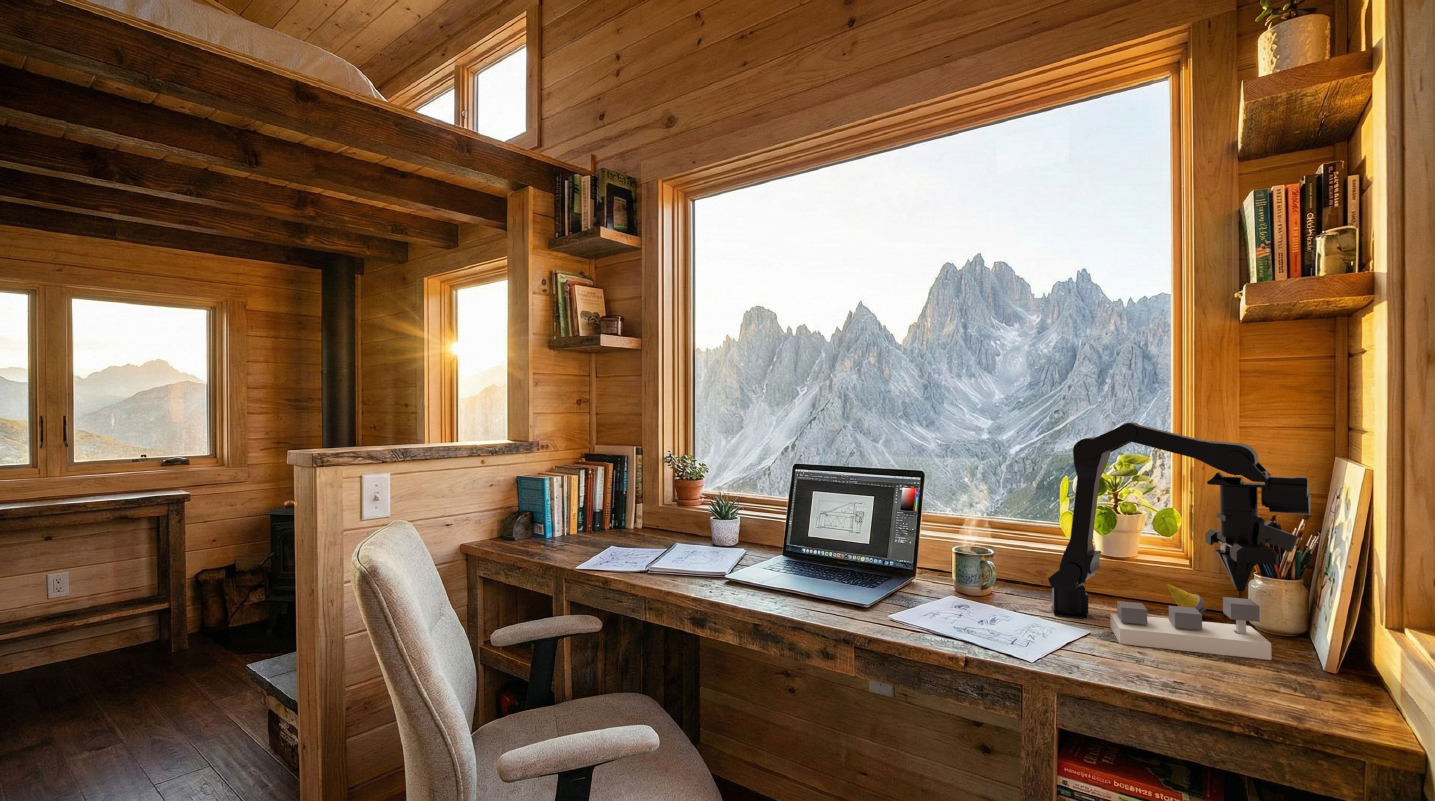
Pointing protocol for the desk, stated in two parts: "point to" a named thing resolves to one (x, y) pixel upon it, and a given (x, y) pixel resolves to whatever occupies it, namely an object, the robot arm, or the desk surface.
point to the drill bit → (1186, 599)
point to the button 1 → (1132, 612)
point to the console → (1193, 637)
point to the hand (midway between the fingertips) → (1240, 590)
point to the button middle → (1185, 617)
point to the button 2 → (1241, 612)
